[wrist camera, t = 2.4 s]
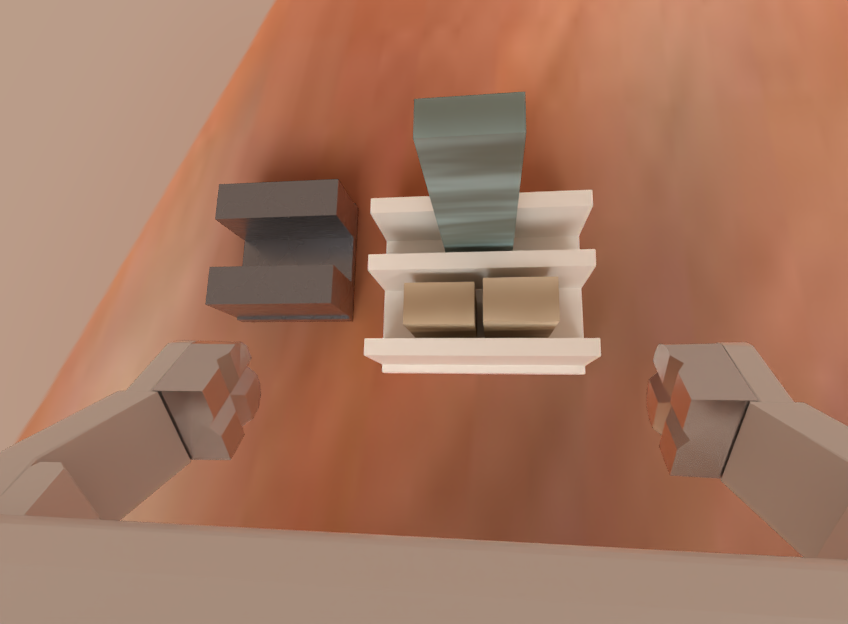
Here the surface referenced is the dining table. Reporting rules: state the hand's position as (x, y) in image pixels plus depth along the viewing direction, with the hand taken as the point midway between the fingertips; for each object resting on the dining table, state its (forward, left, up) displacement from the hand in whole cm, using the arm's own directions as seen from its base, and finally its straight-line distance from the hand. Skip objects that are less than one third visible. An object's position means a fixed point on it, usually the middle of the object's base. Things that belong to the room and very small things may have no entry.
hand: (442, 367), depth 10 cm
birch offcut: (+5, +6, -30) cm, 31 cm away
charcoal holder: (+4, +20, -31) cm, 37 cm away
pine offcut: (+8, +1, -30) cm, 31 cm away
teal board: (+11, +5, -30) cm, 33 cm away
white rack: (+8, +4, -31) cm, 33 cm away
